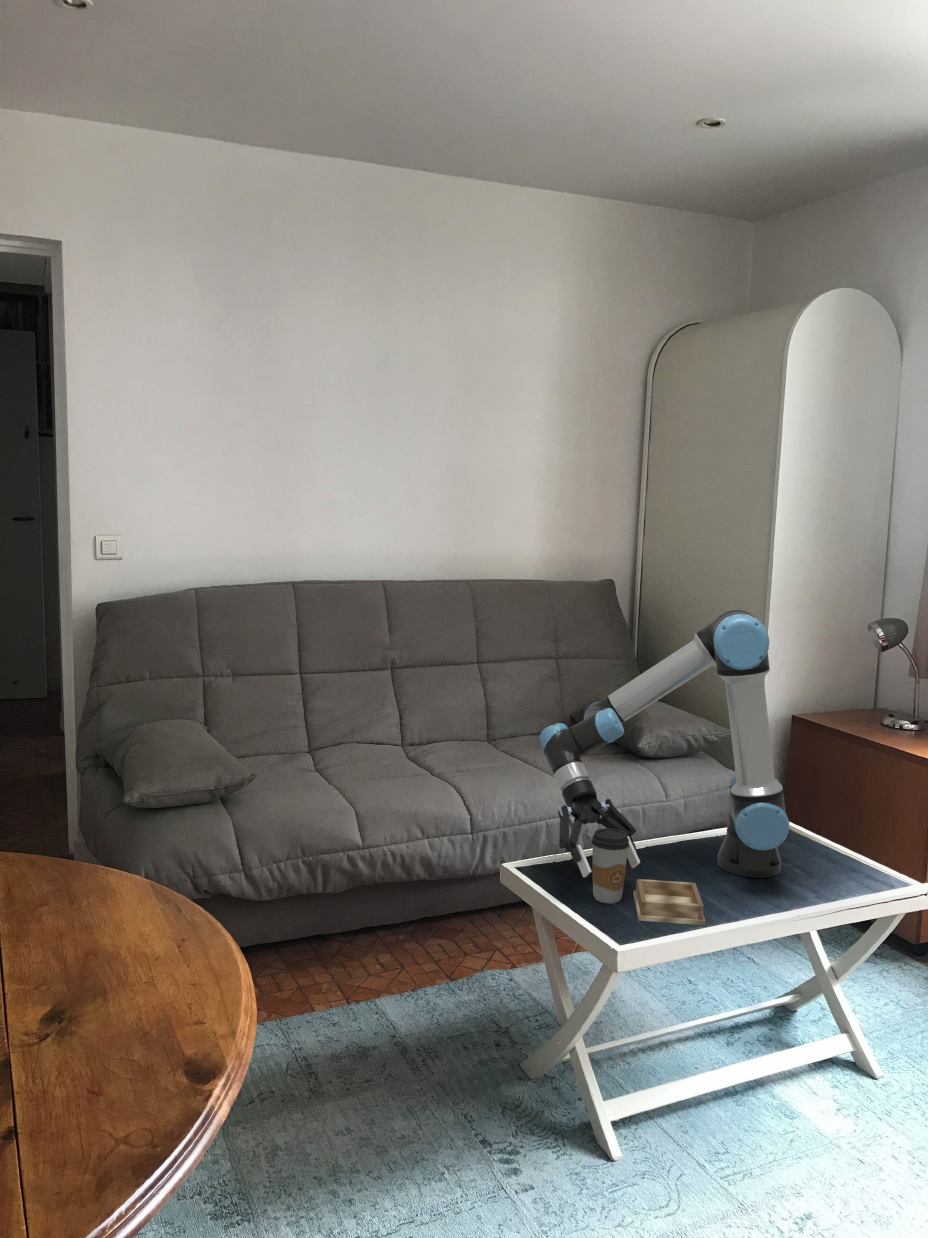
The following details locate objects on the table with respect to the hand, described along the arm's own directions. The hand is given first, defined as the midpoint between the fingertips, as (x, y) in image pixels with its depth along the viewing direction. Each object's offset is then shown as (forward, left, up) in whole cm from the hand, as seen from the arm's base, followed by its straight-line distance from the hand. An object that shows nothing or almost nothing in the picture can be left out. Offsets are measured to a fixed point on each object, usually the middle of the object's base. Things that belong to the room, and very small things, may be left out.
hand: (612, 870), depth 221 cm
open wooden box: (-12, +3, -7) cm, 15 cm away
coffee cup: (+1, -1, -7) cm, 7 cm away
